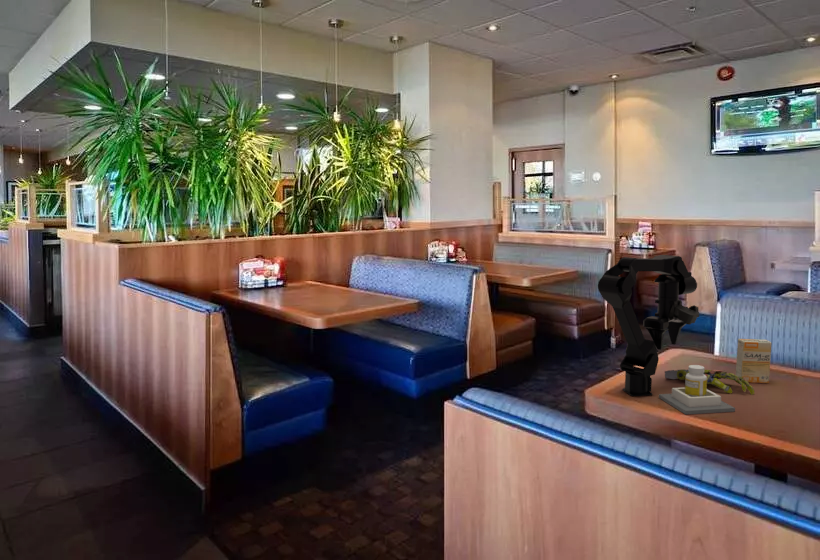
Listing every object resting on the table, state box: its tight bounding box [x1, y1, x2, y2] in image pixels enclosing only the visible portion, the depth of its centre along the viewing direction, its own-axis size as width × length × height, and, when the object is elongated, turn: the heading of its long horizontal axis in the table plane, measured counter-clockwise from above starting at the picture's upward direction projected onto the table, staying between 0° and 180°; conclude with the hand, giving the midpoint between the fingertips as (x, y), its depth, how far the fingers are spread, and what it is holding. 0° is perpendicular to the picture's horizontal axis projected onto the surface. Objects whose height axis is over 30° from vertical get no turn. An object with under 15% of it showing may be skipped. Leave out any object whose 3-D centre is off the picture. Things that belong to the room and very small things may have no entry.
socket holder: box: [658, 386, 736, 415], centre depth 166 cm, size 14×14×4 cm
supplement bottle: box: [684, 364, 708, 397], centre depth 166 cm, size 5×5×10 cm
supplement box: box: [735, 338, 772, 384], centre depth 185 cm, size 8×5×13 cm, turn 80°
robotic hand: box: [664, 368, 755, 396], centre depth 183 cm, size 12×7×25 cm
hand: (666, 346), depth 183 cm, fingers open, 9 cm apart
